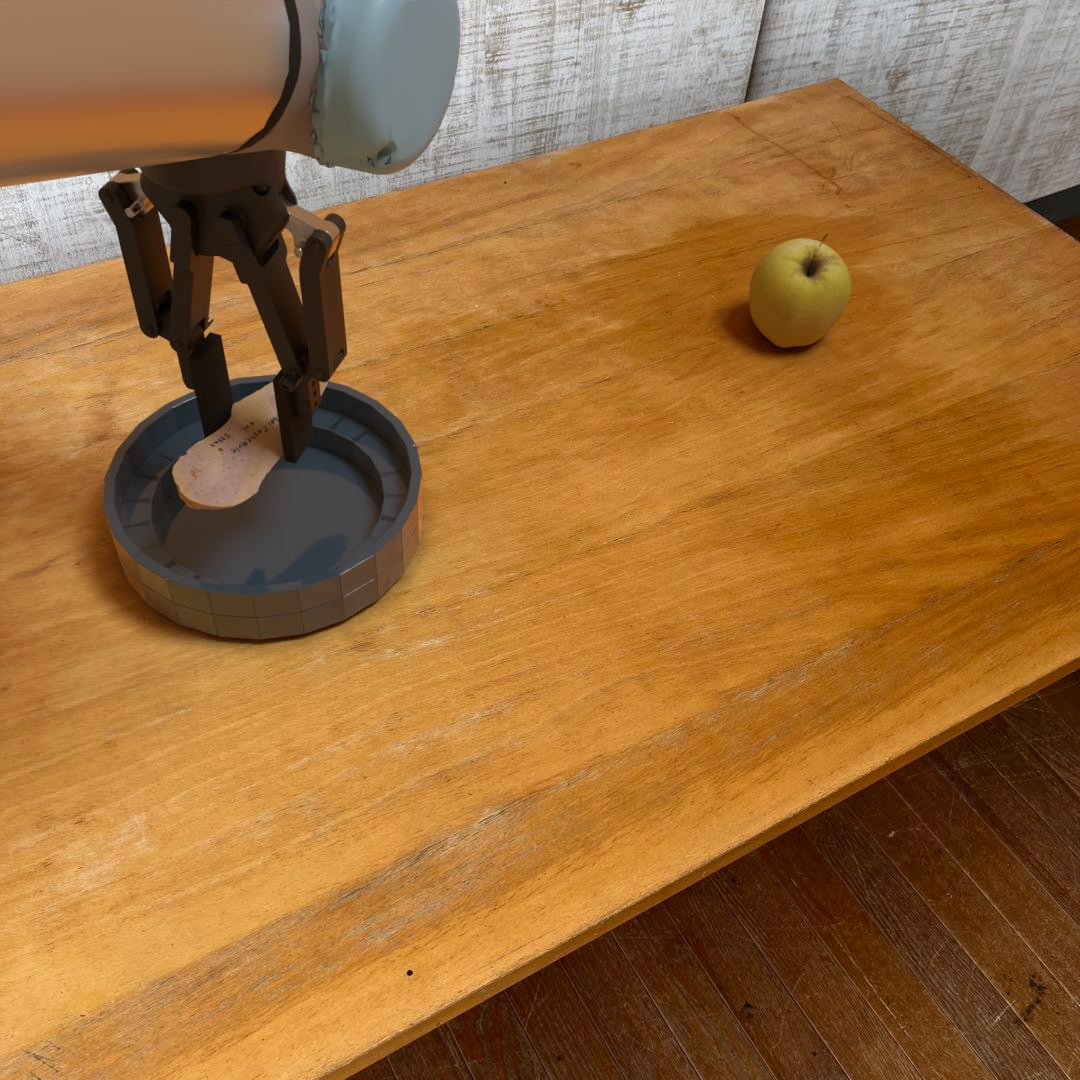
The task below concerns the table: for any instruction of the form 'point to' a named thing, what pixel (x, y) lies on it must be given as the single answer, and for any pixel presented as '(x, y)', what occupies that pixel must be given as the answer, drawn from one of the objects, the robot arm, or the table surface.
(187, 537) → the bowl
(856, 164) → the table surface
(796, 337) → the apple
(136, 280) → the robot arm
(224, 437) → the stone tool
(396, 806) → the table surface
